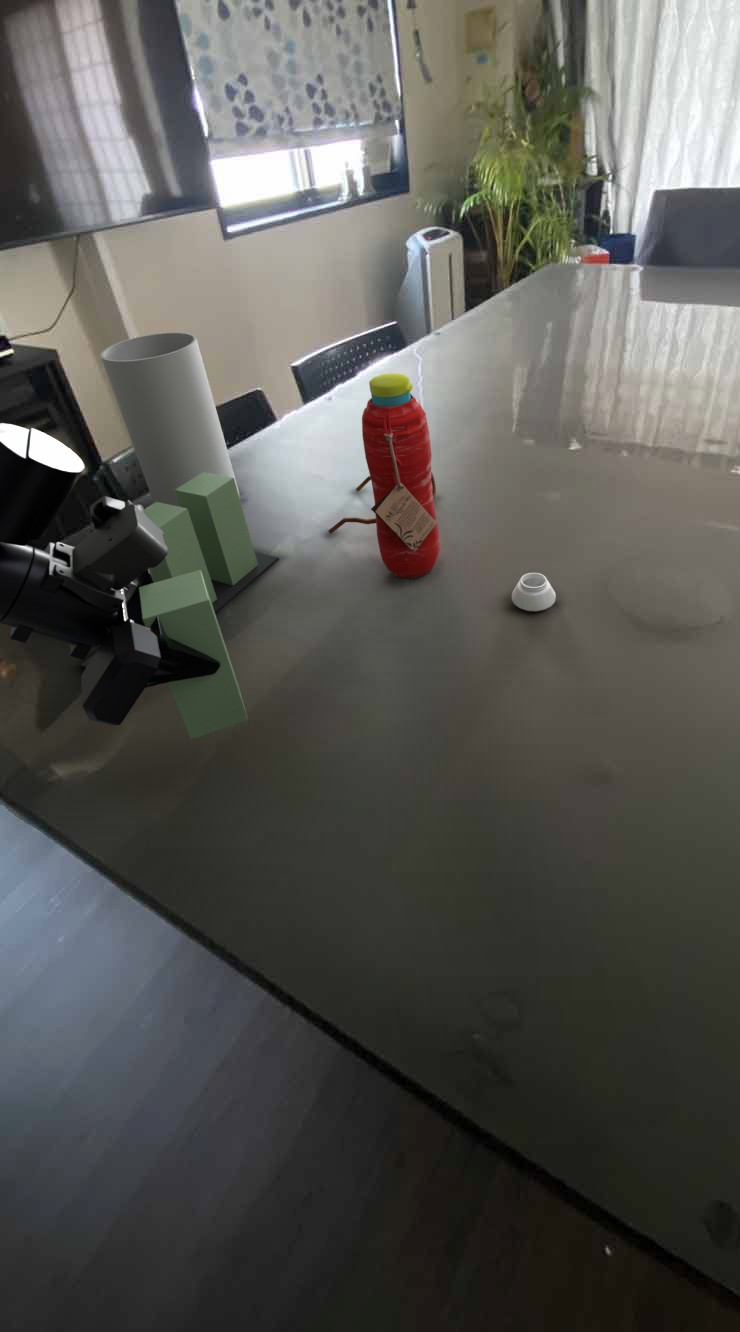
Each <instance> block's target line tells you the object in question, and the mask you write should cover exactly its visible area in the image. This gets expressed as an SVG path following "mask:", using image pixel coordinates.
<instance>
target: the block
mask: <svg viewBox="0 0 740 1332" xmlns="http://www.w3.org/2000/svg"><path fill="white" fill-rule="evenodd" d="M139 594H140V603H141V611H142V620H143V622H144V625H145V627H148V628H149V627H150V626H151V624H152V623H153V621H154V620H155V618H156V617H157V616H158V617H159V618H160V621H161V623H162V625H163V628H164V630H165V633H166V635H167V636H168V637H169V638H171V639H173V640H175V641H178V642H180V643H182V644H184V645H186V646H189V647H191V648H193V649H195V650H197V651H200V652H202V653H204V654H206V655H208V656H210V657H212V658H214V659H215V660H217V661H219V662H220V667H219V669H218V670H217V672H216V673H215V674H213V675H207V676H202V677H196V678H190V679H184V680H179V681H173V682H168V683H167V685H168V688H169V690H170V692H171V695H172V697H173V700H174V702H175V705H176V708H177V710H178V712H179V715H180V717H181V720H182V722H183V725H184V728H185V730H186V732H187V735H188V737H189V740H190V741H191V740H195V739H198V738H201V737H203V736H207V735H209V734H212V733H214V732H215V733H216V732H218V731H221V730H223V729H225V728H229V727H232V726H234V725H238V724H241V723H244V722H246V721H248V720H249V718H248V714H247V710H246V707H245V704H244V703H245V702H244V700H243V697H242V693H241V689H240V686H239V683H238V681H237V677H236V674H235V673H236V672H235V671H234V668H233V664H232V662H231V658H230V655H229V653H228V649H227V646H226V643H225V640H224V637H223V634H222V633H223V632H222V631H221V628H220V625H219V621H218V618H217V615H216V613H215V612H214V609H213V606H212V603H211V599H210V596H209V593H208V590H207V587H206V584H205V581H204V578H203V575H202V572H201V570H198V571H195V572H191V573H188V574H184V575H181V576H177V577H173V578H170V579H166V580H163V581H159V582H156V583H152V584H149V585H145V586H141V587H139Z"/></svg>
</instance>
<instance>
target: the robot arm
mask: <svg viewBox="0 0 740 1332" xmlns="http://www.w3.org/2000/svg"><path fill="white" fill-rule="evenodd" d="M85 468H86V465H85V463H84V461H83V460H82V458H81V457H80V456H79V455H78V454H77V453H75V452H74V450H72V449H71V448H70V447H68V446H66V444H65V443H63V442H61V441H59V440H58V439H56V438H55V437H53V436H51V435H48V434H47V433H45V432H42V431H41V430H38V429H36V428H34V427H31V428H30V429H28V428H26V427H23V426H20V425H16V424H12V423H5V422H1V423H0V624H2V625H6V626H9V627H10V635H9V639H10V640H13V641H16V642H19V643H24V644H26V643H27V641H28V639H29V638H30V636H31V635H32V634H37V635H39V636H43V637H45V638H46V637H47V638H50V639H53V640H56V641H60V642H64V643H66V644H69V657H72V658H76V659H79V660H83V661H84V660H85V658H86V657H87V655H88V654H89V652H90V651H91V649H92V648H93V647H95V648H97V650H96V652H95V653H94V654H95V655H94V654H93V655H94V656H93V655H92V656H93V658H92V659H91V661H90V663H89V664H88V666H87V667H86V668H84V670H83V672H82V673H81V675H80V681H81V683H80V685H81V706H82V708H83V711H84V713H85V714H86V716H87V718H88V720H89V721H94V722H98V723H102V724H106V725H111V726H115V727H117V726H121V725H122V723H123V721H124V720H125V719H126V717H127V716H128V714H129V713H130V712H131V709H132V708H133V707H134V705H135V703H136V702H137V701H138V699H139V698H140V696H141V695H142V694H143V692H144V690H145V689H146V688H151V687H154V686H155V687H156V686H159V685H162V684H168V682H173V681H179V680H184V679H190V678H196V677H202V676H207V675H213V674H215V673H216V672H217V670H218V669H219V667H220V662H219V661H217V660H215V659H214V658H212V657H210V656H208V655H206V654H204V653H202V652H200V651H197V650H195V649H193V648H191V647H189V646H186V645H184V644H182V643H180V642H178V641H175V640H173V639H171V638H169V637H168V636H167V635H166V633H165V630H164V628H163V625H162V623H161V621H160V618H159V617H158V616H157V617H156V618H155V620H154V621H153V623H152V624H151V626H150V627H149V628H148V627H145V625H144V622H143V620H142V611H141V603H140V594H139V587H141V586H145V585H149V584H152V583H155V581H154V578H153V575H152V572H151V569H150V568H154V567H156V566H157V565H159V564H160V563H161V562H162V561H163V560H164V559H165V557H166V556H167V553H168V548H167V546H166V544H165V542H164V538H163V536H164V532H163V531H162V530H161V529H160V528H159V527H158V526H157V525H156V524H155V523H153V522H152V521H151V520H150V519H149V518H148V517H147V516H146V515H145V512H144V509H145V508H144V506H142V505H141V504H137V503H136V504H134V503H133V502H132V501H131V500H129V499H127V500H126V501H123V500H119V499H116V498H114V497H113V498H112V497H109V496H106V495H103V496H101V497H99V499H98V500H96V501H95V502H94V503H92V504H91V505H90V506H89V512H90V513H89V514H90V519H91V522H92V524H93V528H94V529H93V530H92V528H89V529H88V530H87V531H86V532H85V534H86V537H85V538H84V539H83V540H82V541H80V542H79V543H78V544H77V545H76V546H71V545H68V544H66V543H64V542H60V541H57V542H55V543H54V542H50V541H49V543H48V544H47V546H46V548H45V549H44V550H42V549H40V548H37V547H34V546H31V545H29V544H28V543H29V541H33V540H40V539H42V538H44V537H45V535H46V534H47V532H48V530H49V529H50V527H51V525H52V524H53V522H54V520H55V519H56V517H57V515H58V514H59V512H60V510H61V509H62V507H63V505H64V504H65V503H66V500H67V499H68V497H69V495H70V494H71V492H72V490H73V489H74V487H75V485H77V482H78V480H79V478H80V477H81V475H82V473H83V472H84V471H85Z"/></svg>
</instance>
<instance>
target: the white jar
mask: <svg viewBox="0 0 740 1332" xmlns="http://www.w3.org/2000/svg"><path fill="white" fill-rule="evenodd" d="M556 595H557V593H556V592H555V590H554V588H553V587H552V585H551V583H550V581H549V580H548V579H547V577H546V576H545V575H544V574H542V573H539V572H528V573H525V574H523V575H522V576H521V577H520V579H519V581H518V582H517V583H516V584H515V587H514V588H513V590H512V593H511V601H512V603H513V605H514V606H516V607H517V608H519V609H521V610H524V611H527V612H539V611H545V610H548V608H551V607H552V606H553V605H554V604H555V602H556V599H557V598H556Z"/></svg>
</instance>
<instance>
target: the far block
mask: <svg viewBox="0 0 740 1332" xmlns="http://www.w3.org/2000/svg"><path fill="white" fill-rule="evenodd" d="M237 487H238V486H237ZM237 487H236V484H235V480H234V478H233V477H228V476H222V475H217V474H212V473H206V472H203V473H201V474H200V475H198V476H196V477H195V478H193V479H192V480H190V481H188V482H187V483H185V484H184V485H182V486H180V487H179V488H177V489H176V490H175V492H176V495H177V498H178V501H179V504H180V507H182V508H186V509H188V512H189V515H190V519H191V522H192V525H193V528H194V531H195V534H196V537H197V540H198V543H199V546H200V549H201V552H202V555H203V558H204V561H205V564H206V567H207V570H208V573H209V576H210V579H211V580H215V581H218V582H222V583H226V584H229V585H235V584H236V583H237V582H238V581H239V580H241V579H242V578H243V577H244V576H245V575H247V574H248V573H249V572H250V571H251V570H253V569H254V568H255V567H256V566H257V565H258V563H257V560H256V556H255V552H256V551H255V549H254V546H253V542H252V539H251V535H250V532H249V527H248V524H247V520H246V516H245V513H244V510H243V506H242V502H241V498H240V496H239V495H240V494H239V495H238V491H237Z"/></svg>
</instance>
